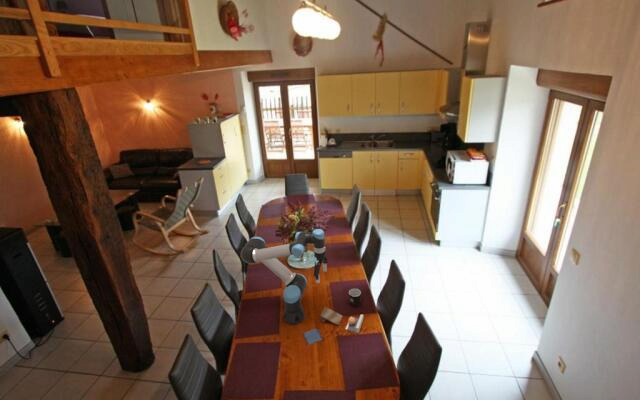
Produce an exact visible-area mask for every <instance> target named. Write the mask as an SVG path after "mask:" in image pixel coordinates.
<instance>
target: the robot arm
mask: <svg viewBox="0 0 640 400" xmlns="http://www.w3.org/2000/svg"><path fill="white" fill-rule="evenodd" d="M309 244H310V245H311V244H312V245H313V255H314V257H315V259H316V261H314V271H313V277H315V283H316V284H320V283H321V278H320V272H321V271H320V268H321V266H322V272H325V273H326V272H327V271H328V270H327V264H328V258H327V254H326V242H325V231H324V230H323V229H321V228H316V229H313V231H312V232H308V231H297V232H296V233H295V236H294V242H292V243H287V244H280V245H277V246H276V245H275V246H270V247H267V245H266V241H265V240H264V239H263V238H262V237H261V236H253V237H251V238H249V240H248V241H247V242H246V243H245V245H244V247H242V249H241V250H240V258H241V260H242V261H243V262H244V263H246V264H259V263H260V262H261V263H263V264H264V266H266V267H267V268H268V269H269V270H270V271H272V273H274V274H275V275H276V276H277V277H278V278H280V280H282V281H283V282H284V286H285V289H284V290H283V293H282V294H283V295H282V297H283V302H284V312H283V319H284V322H285V323H287V324H288V325H298V324H300V323H302V322H303V321H304V320H305V319H306V313H305V310H304V308H303V305H302V298H303V295H304V293H305V291H306V289H307V285H308V280H307V278H306V276H305V275H303V274H302V273H297V272H292V271H291V270H290V269H289V268H288V267H287V266H286V265H284V264H283V263H282V262H281V261H280V260H279V259H278V258H283V257H289V256H294V257H297V258H300V257H301V256H302V255H304V252H305V250H306V248H307V245H309Z"/></svg>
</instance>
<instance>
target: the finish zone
mask: <svg viewBox="0 0 640 400" xmlns="http://www.w3.org/2000/svg"><path fill="white" fill-rule="evenodd" d="M354 318H355V320H356V322H355V324H353V325H351V324H349V322H348V321H347V325H345V331H346V330H347V331H351V332H355V333H356V334H359V333H360V331H361V328H362V325H363V323H364V314H360V316H359V318H358V317H354Z"/></svg>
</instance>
